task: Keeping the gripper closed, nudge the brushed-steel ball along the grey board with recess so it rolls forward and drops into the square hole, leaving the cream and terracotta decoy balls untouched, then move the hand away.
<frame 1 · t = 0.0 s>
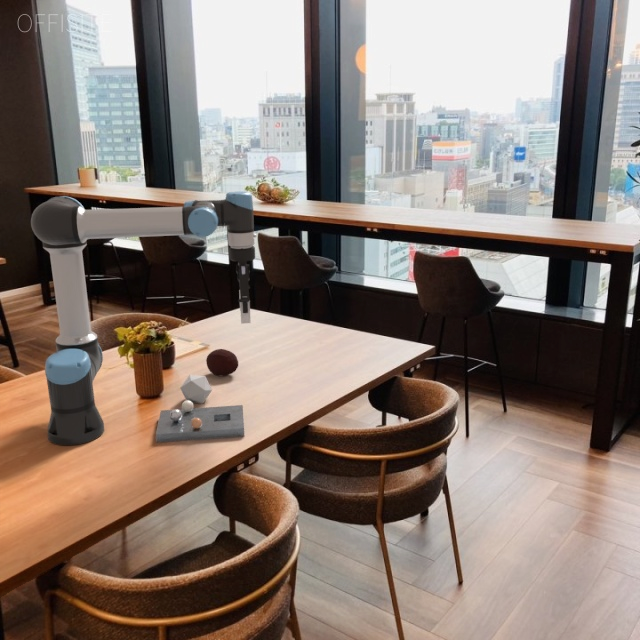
hand: (245, 316, 206), 28 cm above the table, fingers open, 13 cm apart
die: (197, 401, 217), on the table
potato: (222, 375, 238), on the table
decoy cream: (187, 406, 203), point 4 cm above the table, touching grey board with recess
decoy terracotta: (196, 423, 192), point 4 cm above the table, touching grey board with recess
grey board with recess: (201, 427, 199), on the table
steel ball: (175, 415, 197), point 4 cm above the table, touching grey board with recess
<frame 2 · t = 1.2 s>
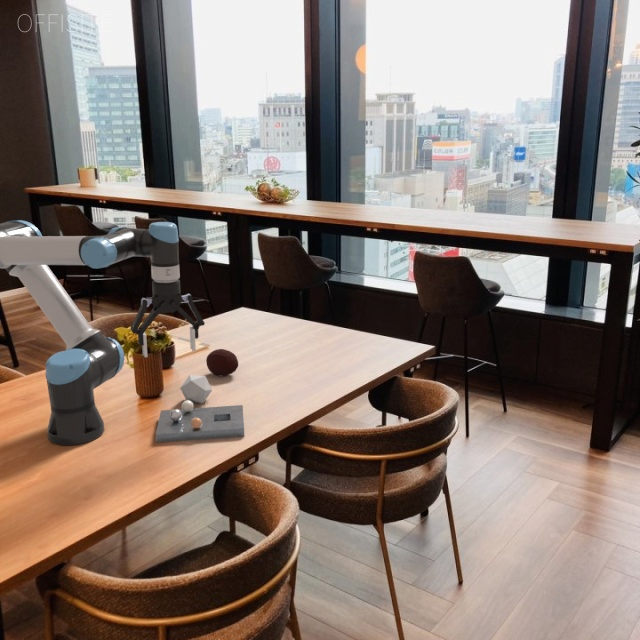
hand: (169, 352, 195), 22 cm above the table, fingers open, 13 cm apart
nothing on the table moved.
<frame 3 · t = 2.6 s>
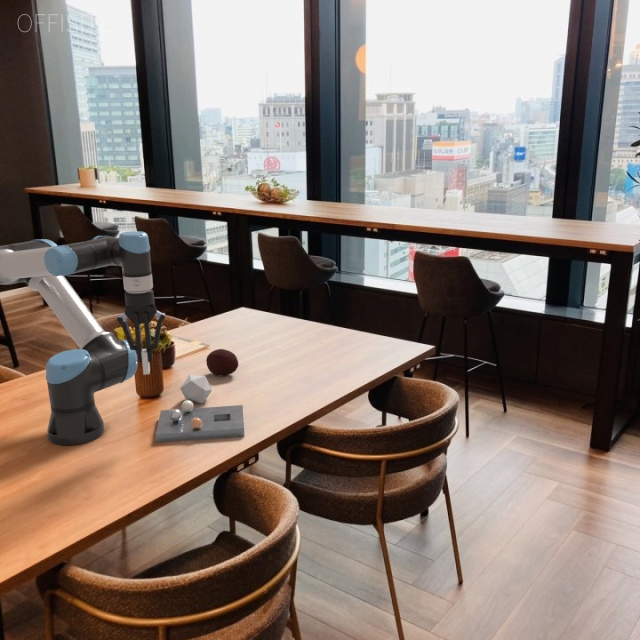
hand: (146, 372, 192), 18 cm above the table, fingers closed
nothing on the table moved.
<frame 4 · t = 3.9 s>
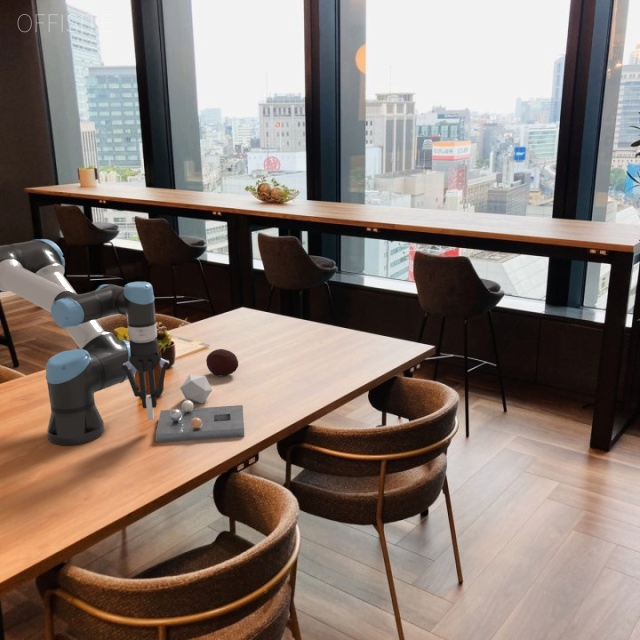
hand: (150, 417, 196), 4 cm above the table, fingers closed
nothing on the table moved.
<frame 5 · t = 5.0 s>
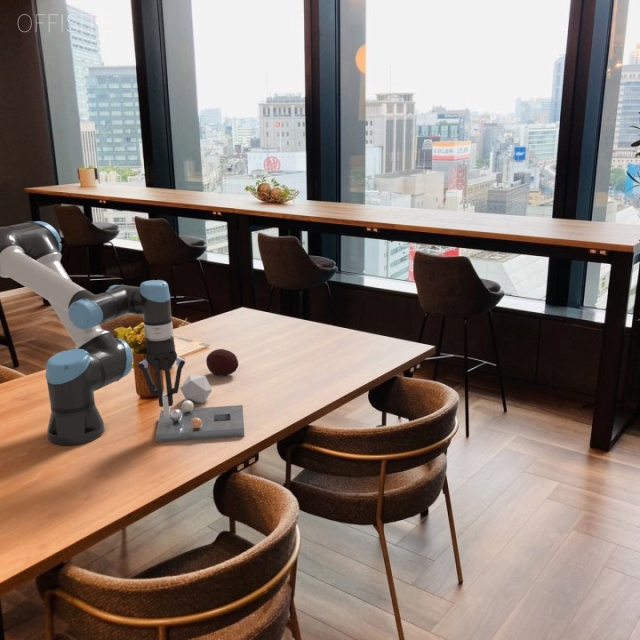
hand: (167, 416, 196), 4 cm above the table, fingers closed
steel ball: (176, 415, 197), point 4 cm above the table, touching gripper, grey board with recess
everything else where it was.
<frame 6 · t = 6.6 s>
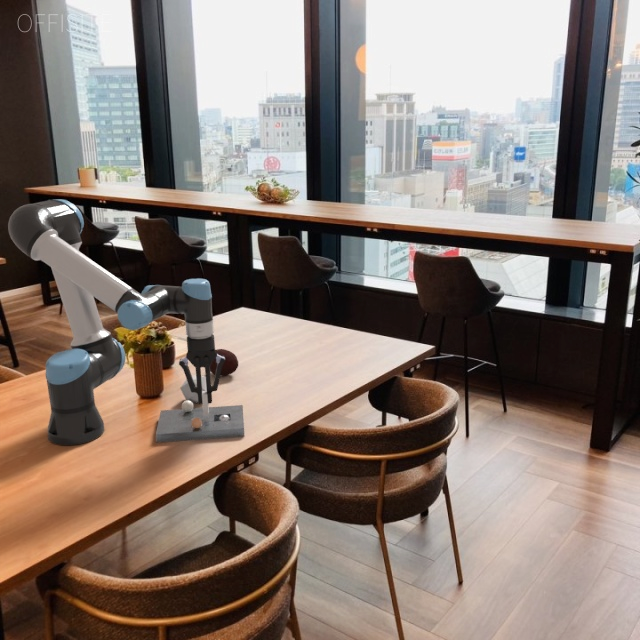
hand: (206, 413, 197), 4 cm above the table, fingers closed
steel ball: (224, 420, 199), point 2 cm above the table, tilted 142°
everything else where it was.
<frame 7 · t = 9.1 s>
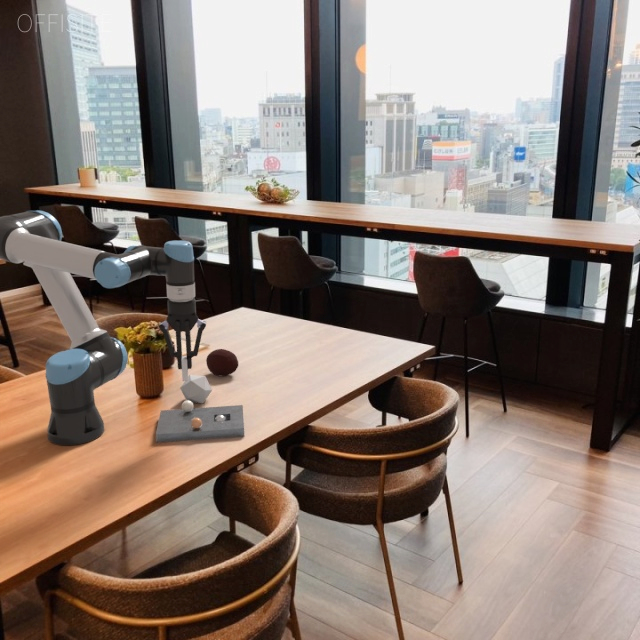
hand: (185, 379, 194), 15 cm above the table, fingers closed
steel ball: (220, 420, 199), point 2 cm above the table, tilted 104°
everything else where it was.
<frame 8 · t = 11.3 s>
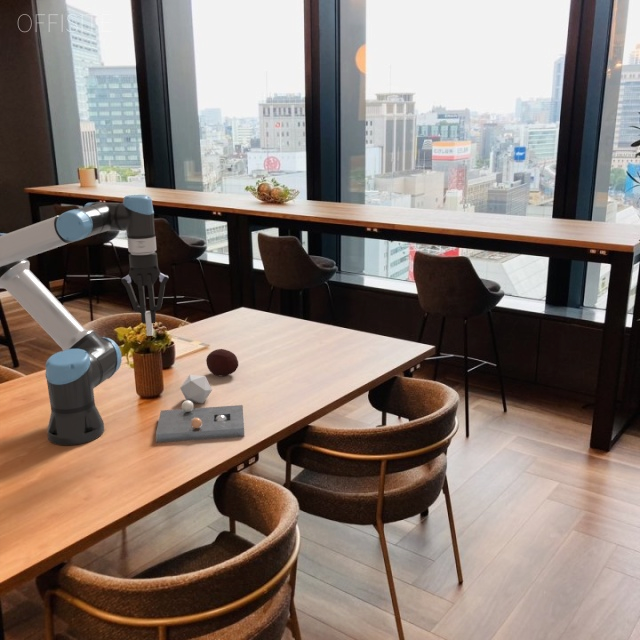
hand: (150, 334, 197), 26 cm above the table, fingers closed
steel ball: (221, 420, 199), point 2 cm above the table, tilted 111°
everything else where it was.
at the end: steel ball 0.4 cm from the target spot in the grey board with recess, point 1.7 cm above the grey board with recess's base; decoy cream moved 0.0 cm from its start; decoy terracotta moved 0.0 cm from its start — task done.
